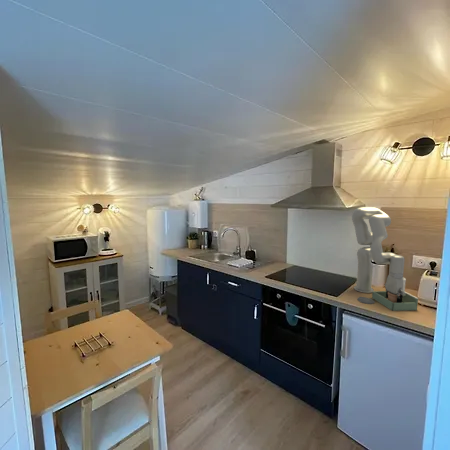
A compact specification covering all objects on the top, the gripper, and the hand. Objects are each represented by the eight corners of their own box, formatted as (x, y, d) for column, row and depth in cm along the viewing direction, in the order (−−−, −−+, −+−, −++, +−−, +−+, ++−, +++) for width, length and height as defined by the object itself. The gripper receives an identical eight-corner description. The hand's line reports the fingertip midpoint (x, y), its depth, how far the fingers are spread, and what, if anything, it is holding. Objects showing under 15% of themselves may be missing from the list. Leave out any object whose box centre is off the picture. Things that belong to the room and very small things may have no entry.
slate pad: (354, 297, 177) (354, 297, 177) (368, 297, 177) (368, 296, 177) (363, 304, 167) (363, 303, 167) (378, 303, 167) (378, 302, 167)
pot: (384, 301, 171) (385, 291, 171) (394, 301, 172) (395, 290, 171) (392, 306, 164) (392, 295, 163) (402, 305, 165) (403, 295, 164)
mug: (384, 291, 189) (385, 277, 187) (395, 289, 193) (396, 275, 192) (396, 296, 181) (397, 280, 179) (407, 293, 186) (408, 278, 184)
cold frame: (372, 297, 177) (372, 286, 176) (394, 297, 178) (395, 286, 178) (392, 310, 158) (393, 298, 157) (417, 310, 159) (418, 298, 158)
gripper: (381, 270, 174) (379, 295, 176) (400, 279, 157) (397, 306, 159) (391, 270, 175) (389, 295, 177) (412, 279, 158) (409, 306, 160)
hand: (393, 300), depth 168 cm, fingers open, 9 cm apart
